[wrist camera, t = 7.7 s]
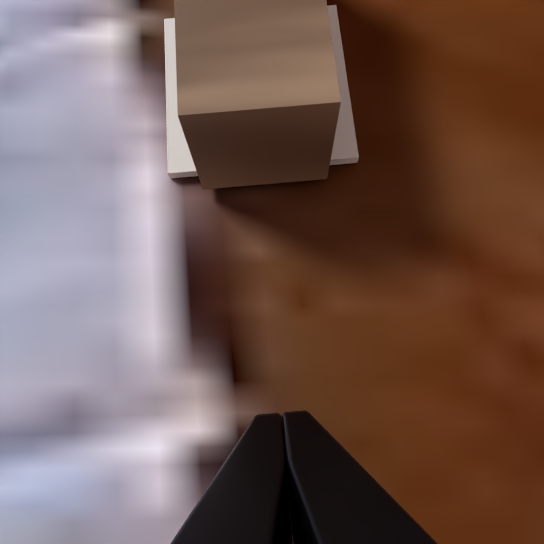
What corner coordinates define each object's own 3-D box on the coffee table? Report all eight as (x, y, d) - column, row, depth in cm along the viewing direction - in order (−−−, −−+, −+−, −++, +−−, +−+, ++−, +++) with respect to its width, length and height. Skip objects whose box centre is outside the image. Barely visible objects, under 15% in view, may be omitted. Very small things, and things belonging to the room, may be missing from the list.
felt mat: (357, 162, 19) (359, 157, 18) (169, 178, 19) (167, 173, 18) (335, 12, 21) (335, 5, 20) (166, 26, 21) (164, 18, 20)
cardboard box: (341, 99, 14) (304, -158, 17) (177, 113, 14) (169, -146, 17) (327, 179, 18) (300, -35, 21) (202, 189, 18) (192, -27, 21)
